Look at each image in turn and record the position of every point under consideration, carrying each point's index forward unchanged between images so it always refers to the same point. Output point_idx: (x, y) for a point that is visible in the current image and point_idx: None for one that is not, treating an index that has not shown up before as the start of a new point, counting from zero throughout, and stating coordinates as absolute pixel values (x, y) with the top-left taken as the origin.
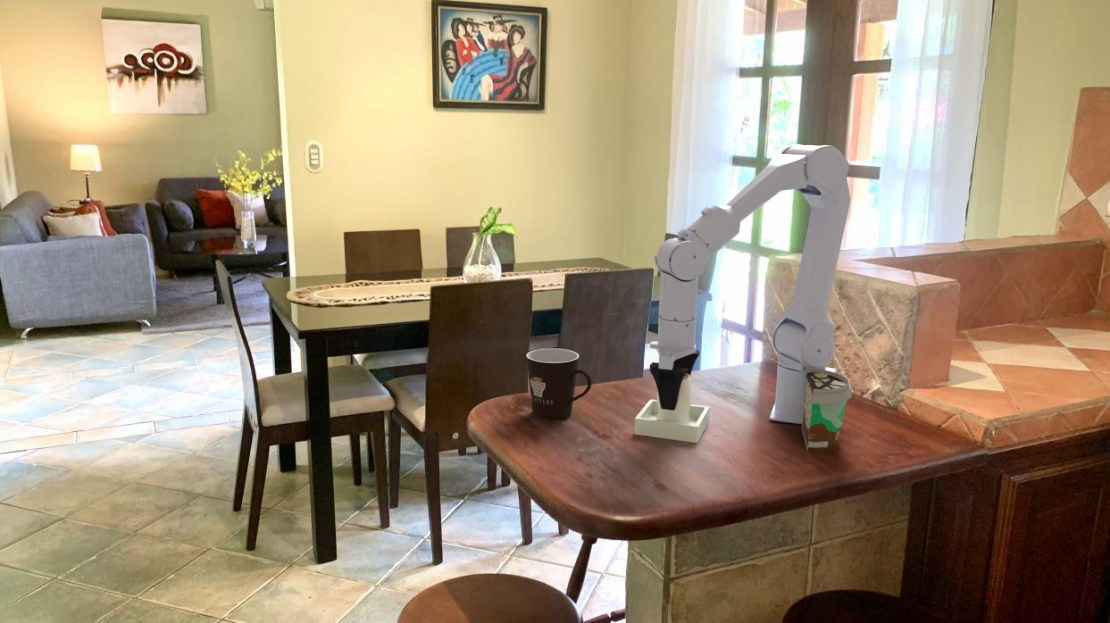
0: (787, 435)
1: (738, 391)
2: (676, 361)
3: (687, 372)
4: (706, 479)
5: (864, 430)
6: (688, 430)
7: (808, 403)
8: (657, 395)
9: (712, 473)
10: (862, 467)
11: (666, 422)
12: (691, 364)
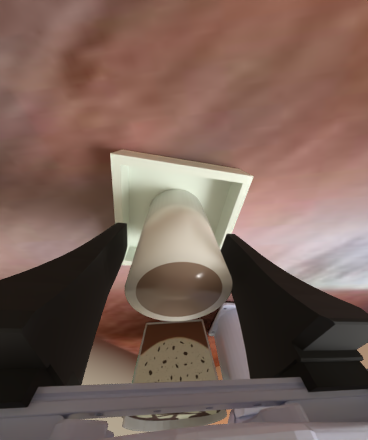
0: None
1: (329, 274)
2: (267, 315)
3: (239, 303)
4: (8, 262)
5: (209, 344)
6: None
7: (174, 370)
8: (170, 215)
9: (33, 266)
10: (127, 344)
11: (115, 220)
12: (245, 336)
